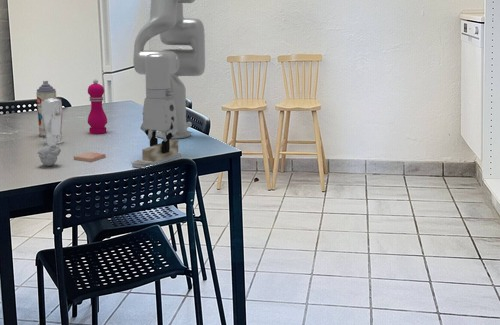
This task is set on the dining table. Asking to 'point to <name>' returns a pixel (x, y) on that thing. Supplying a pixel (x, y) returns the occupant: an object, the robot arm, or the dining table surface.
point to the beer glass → (52, 120)
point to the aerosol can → (42, 93)
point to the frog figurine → (49, 154)
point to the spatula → (156, 153)
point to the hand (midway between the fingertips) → (159, 151)
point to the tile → (89, 156)
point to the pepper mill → (96, 109)
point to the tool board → (161, 160)
